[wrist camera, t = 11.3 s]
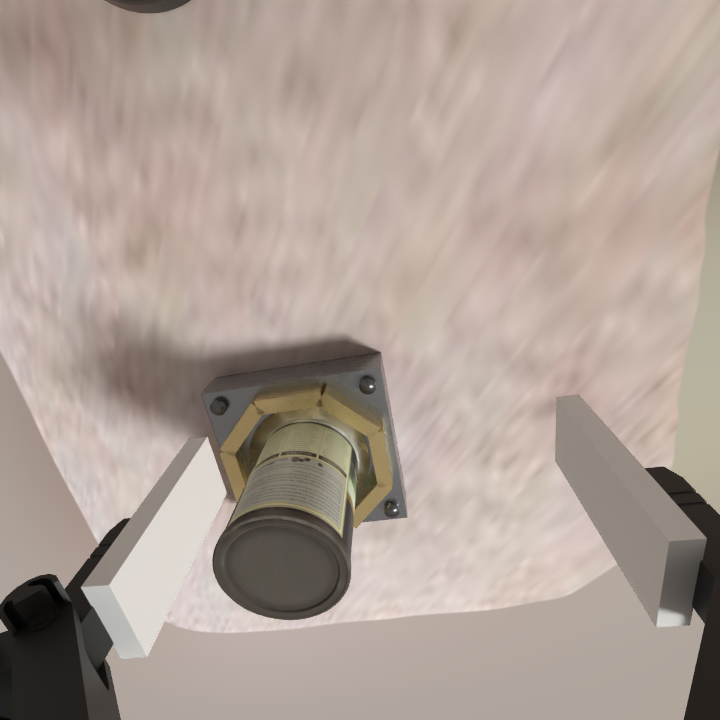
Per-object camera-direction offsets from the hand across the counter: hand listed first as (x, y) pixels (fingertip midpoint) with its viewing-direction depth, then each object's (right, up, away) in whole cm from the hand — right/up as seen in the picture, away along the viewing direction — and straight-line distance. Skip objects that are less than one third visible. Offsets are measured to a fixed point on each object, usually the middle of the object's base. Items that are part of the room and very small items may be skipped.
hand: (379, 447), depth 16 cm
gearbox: (-6, -5, +33) cm, 34 cm away
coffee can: (-6, -7, +29) cm, 30 cm away
